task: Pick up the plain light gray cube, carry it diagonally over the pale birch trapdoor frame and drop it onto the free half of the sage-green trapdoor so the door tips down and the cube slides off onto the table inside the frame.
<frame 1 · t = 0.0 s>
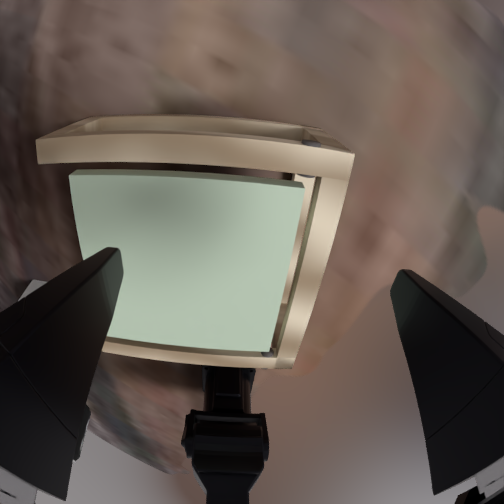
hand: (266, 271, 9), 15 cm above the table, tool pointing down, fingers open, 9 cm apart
beverage can: (76, 402, 44), on the table
trapdoor: (180, 274, 19), point 7 cm above the table, hinge at 0.0°
trapdoor frame: (194, 222, 24), on the table
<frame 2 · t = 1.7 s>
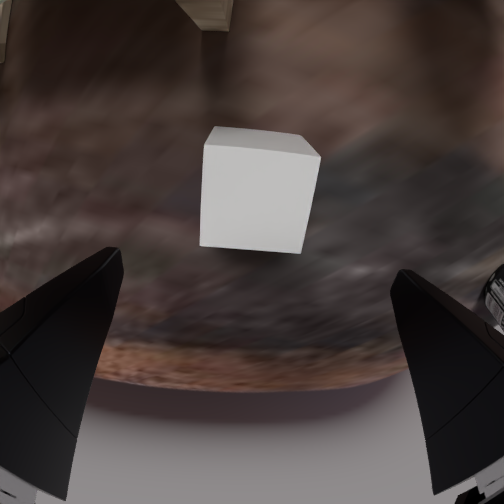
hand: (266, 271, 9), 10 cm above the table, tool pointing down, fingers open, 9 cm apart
beverage can: (501, 279, 24), on the table
plain light gray cube: (253, 169, 18), on the table
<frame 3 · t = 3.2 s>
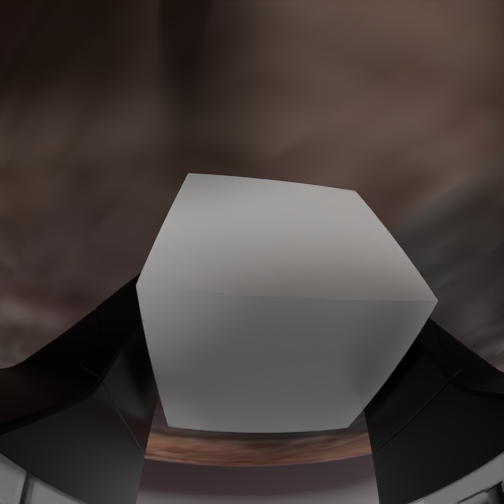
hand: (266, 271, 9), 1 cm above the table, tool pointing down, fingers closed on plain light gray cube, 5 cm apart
plain light gray cube: (264, 252, 10), on the table, touching gripper
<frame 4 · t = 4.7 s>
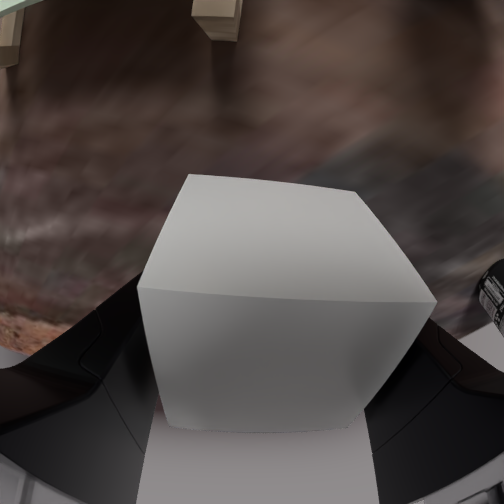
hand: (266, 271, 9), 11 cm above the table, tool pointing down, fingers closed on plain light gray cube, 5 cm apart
beverage can: (494, 277, 25), on the table
plain light gray cube: (264, 253, 10), point 10 cm above the table, touching gripper
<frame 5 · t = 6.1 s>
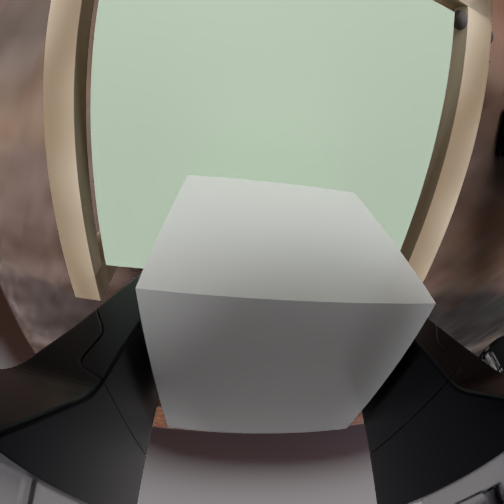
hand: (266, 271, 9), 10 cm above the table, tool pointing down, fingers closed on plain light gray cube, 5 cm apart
beverage can: (493, 347, 32), on the table
trapdoor: (271, 118, 10), point 7 cm above the table, hinge at 0.0°
trapdoor frame: (259, 103, 16), on the table
plain light gray cube: (263, 254, 10), point 9 cm above the table, touching gripper
when the fingers open (10 cm above the table, at t = 6.4 s): plain light gray cube drops 7 cm and tips over, point 2 cm above the table.
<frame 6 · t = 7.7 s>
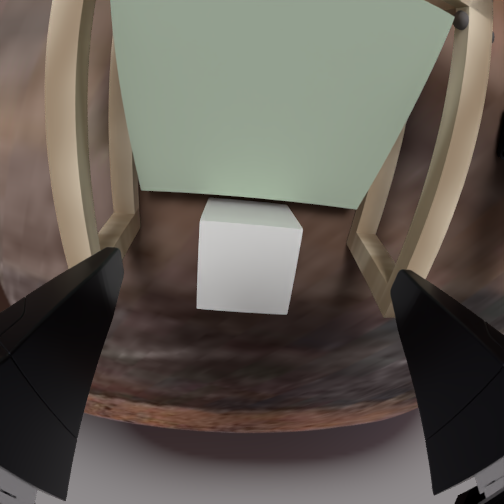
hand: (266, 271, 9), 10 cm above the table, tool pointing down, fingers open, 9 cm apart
trapdoor: (268, 95, 12), point 4 cm above the table, hinge at -26.5°
trapdoor frame: (261, 102, 16), on the table
plain light gray cube: (249, 210, 17), point 2 cm above the table, tilted 80°
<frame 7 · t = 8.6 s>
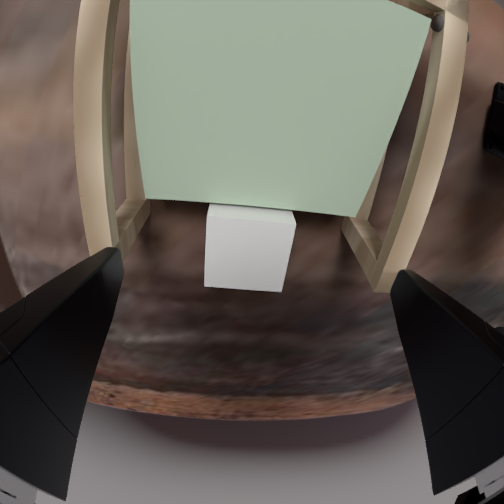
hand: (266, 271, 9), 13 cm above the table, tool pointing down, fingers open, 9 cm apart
trapdoor: (268, 100, 13), point 5 cm above the table, hinge at -17.8°
trapdoor frame: (262, 99, 17), on the table
plain light gray cube: (251, 201, 19), point 2 cm above the table, tilted 90°
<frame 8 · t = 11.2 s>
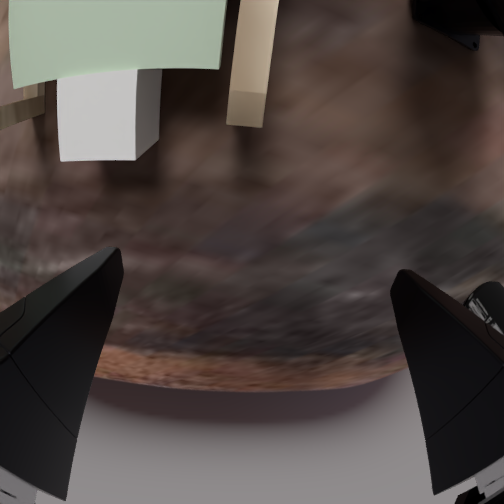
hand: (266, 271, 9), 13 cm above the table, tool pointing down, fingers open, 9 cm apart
beverage can: (480, 297, 29), on the table
plain light gray cube: (112, 71, 14), point 3 cm above the table, tilted 91°, touching trapdoor
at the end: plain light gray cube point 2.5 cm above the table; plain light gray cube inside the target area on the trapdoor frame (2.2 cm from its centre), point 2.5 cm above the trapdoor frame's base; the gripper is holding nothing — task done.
